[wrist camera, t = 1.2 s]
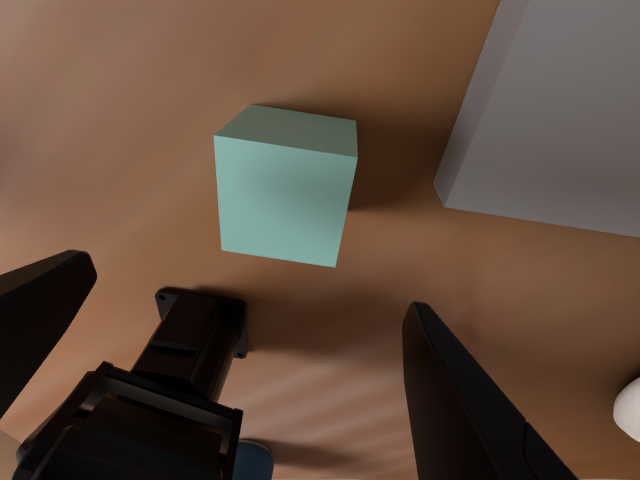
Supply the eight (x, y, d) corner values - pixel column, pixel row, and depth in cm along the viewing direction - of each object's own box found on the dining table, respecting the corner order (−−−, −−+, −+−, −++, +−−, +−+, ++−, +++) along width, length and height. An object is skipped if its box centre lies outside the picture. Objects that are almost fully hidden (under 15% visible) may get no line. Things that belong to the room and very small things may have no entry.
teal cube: (338, 210, 18) (335, 267, 14) (251, 197, 18) (221, 250, 14) (356, 120, 15) (357, 157, 11) (251, 103, 15) (213, 135, 11)
